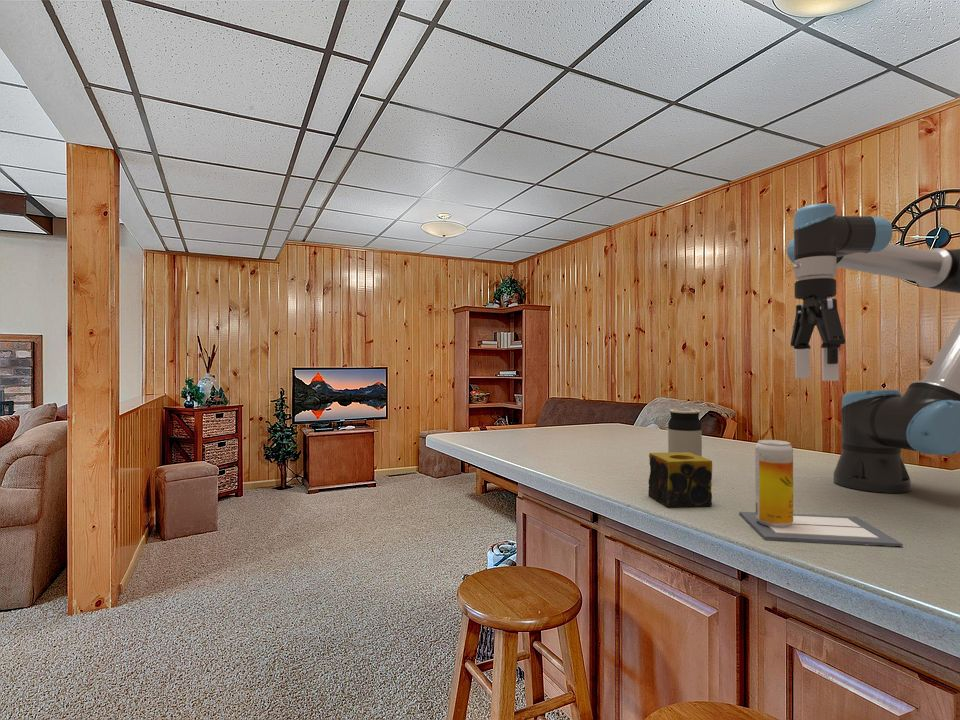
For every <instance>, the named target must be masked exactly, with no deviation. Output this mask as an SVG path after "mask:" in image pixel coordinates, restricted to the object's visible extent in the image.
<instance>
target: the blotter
mask: <svg viewBox="0 0 960 720" xmlns="http://www.w3.org/2000/svg"><path fill="white" fill-rule="evenodd" d="M738 513H739V516H740V517H741V518H742V519H743V520H744V521H745V522H746V523H747V524H748V525H749V526H750V527H751V528H752V529H753V530H754V531H755V532H756V533H757V534H758V535H759V536H760V537H761V538H762V539H763V540H764V541H774V542H775V541H777V542H796V543H799V542H800V543H816V544H833V545H835V544H836V545H850V544H868V545H867V546H869V545H886V546H885V547H887V546H900V547H899V548H903V543H902V542H901V541H899V540H897V539H895V538H894V537H892V536H890V535H888V534H887V533H885V532H883V531H881V530H880V529H878V528H876V527H875V526H873V525H872V524H870V523H867V522H866V521H864V520H863V519H861V518H859V517H858V516H846V515H845V516H844V515H825V514H823V515H822V514H821V515H820V514H803V513H801V514H800V513H793V522H792V523H791V524H790V526H788V527H772V526H767V525H764V524H761V523H760V522H759V520H758V519H757V518H756V511H755V512H754V511H739V512H738Z"/></svg>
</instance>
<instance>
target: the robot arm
mask: <svg viewBox="0 0 960 720" xmlns="http://www.w3.org/2000/svg"><path fill="white" fill-rule="evenodd" d="M837 213H838V212H837V207H836V205H834V204H831V203H826V202H825V203H814V204H808V205H805V206H802V207H800V208H799V209H797V210H796V211H795V213H794V220H793V221H794V222H793V229H792V231H793V238H792V239H791V240H790V241H789V243H788V244H787V250H786V254H787V257H788V259H789V261H790V262H791V263H793V264H792V266H791V268H792V269H793V270H794V279H796V280H797V281H795V282H794V298H795V299H797V300H802V301H803V303H802V304H797V305H796V307H795V317H794V322H793V327H792V334H791V338H790V346H791V347H793V349H794V357H795V358H794V362H795V363H794V370H795V372H794V376H795V377H794V378H795V379H810V378H811V376H810V375H811V373H810V372H811V370H810V369H811V368H810V367H811V366H810V361H811V358H810V356H811V355H810V354H811V352H810V349H812V348H811V345H810V342H811V341H810V340H811V339H812V335H813V332H814V329H815V326H816V328H817V331H818V333H819V334H818V335H819V336H820V338H821V341H822V344H821V346H820V348H821V381H823V382H832V381H834V382H837V381H838V382H839V381H840V377H839V376H840V375H839V373H840V369H839V365H840V361H839V359H840V356H839V354H840V353H839V348H841V345H845V344H846V340H845V339H846V338H845V334H844V331H843V327H842V323H841V319H840V316H839V311H838V300H837V298H835V297H836V295H837V280H836V279H835V278H834V277H836V276H837V268H839V269H845V270H851V271H855V272H856V271H857V272H862V273H868V274H873V275H878V276H885V277H890V278H895V279H899V280H906V281H911V282H915V283H916V284H917V285H918V286H919V287H922V288H927V289H933V290H937V291H943V292H948V293H956V294H960V248H954V249H953V248H951V249H947V248H940V247H937V248H936V247H935V248H930V249H928V250H927V249H921V248H915V247H912V246H911V247H910V246H905V245H901V244H895V243H891V241H892V238H893V226H892V223H891V222H890V220H889V219H887V218H885V217H882V216H873V215H868V216H867V215H866V216H864V215H862V216H858V215H855V216H854V215H851V216H849V215H847V216H845V215H837ZM840 412H841V413H840V414H841V419H840V420H841V423H840V424H841V453H840V455H839V459H838V461H837V463H836V466H835V468H834V471H833V483H834V484H836V485H838V486H842V487H844V488H848V489H852V490H853V489H854V490H857V491H858V490H860V491H866V492H874V493H884V494H885V493H888V494H889V493H890V494H892V493H893V494H896V493H897V494H898V493H899V494H901V493H908V492H910V491H912V481H911V478H910V475H909V473H908V471H907V468H906V465H905V462H904V460H903V457H902V449H904V450H908V451H914V452H918V453H920V454H921V453H922V454H925V455H937V456H950V455H954V454H958V453H960V317H959V318H958V320H957V322H956V323H955V325H954V326H953V328H952V330H951V331H950V333H949V335H948V337H947V338H946V340H945V341H944V343H943V345H942V347H941V348H940V350H939V351H938V353H937V355H936V356H935V358H934V360H933V362H932V363H931V365H930V367H929V368H928V370H927V372H926V374H925V375H924V377H923V378H922V379H921V380H916V381H913V382H911V383H910V384H909V386H908V387H907V389H906V390H905V392H904V394H903V395H902V393H901V391H900V390H898V389H875V390H873V389H872V390H858V391H857V390H856V391H849V392H846V393H844V394H843V396H842V399H841V407H840Z"/></svg>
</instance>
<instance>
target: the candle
mask: <svg viewBox="0 0 960 720" xmlns="http://www.w3.org/2000/svg"><path fill="white" fill-rule="evenodd" d="M648 457H649V459H648V460H649V462H648V463H649V470H650V472H649V477H648V496H649V497H650V498H652V499H653V500H655V501H656V502H658V503H659V504H661V505H663V506H664V507H666V508H669V509H675V508H676V509H678V508H680V509H681V508H702V507H703V508H706V507H712V504H713V501H712V499H713V493H712V485H713V483H712V480H713V478H712V476H713V460H711V459H708V458H706V457H704V456H702V457H701V456H698V455H695V454H693V453H691V452H672V453H668V452H649V455H648Z"/></svg>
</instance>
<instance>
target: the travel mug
mask: <svg viewBox="0 0 960 720" xmlns="http://www.w3.org/2000/svg"><path fill="white" fill-rule="evenodd" d="M669 413H670V418H669V419H668V423H667V427H668V429H667V437H668V438H667V441H668V442H667V443H668V444H667V445H668V447H667V448H668V449H667V453H672V452H691V453H693V454H695V455H698V456H701V457H703V455H702V454H703V452H702V451H703V450H702V448H703V447H702V445H703V444H702V439H703V438H702V425H703V424H702V422H701V420H700V418H699V417H700V413H701V410H699V409H697V408H696V409H694V408H670V409H669Z"/></svg>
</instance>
